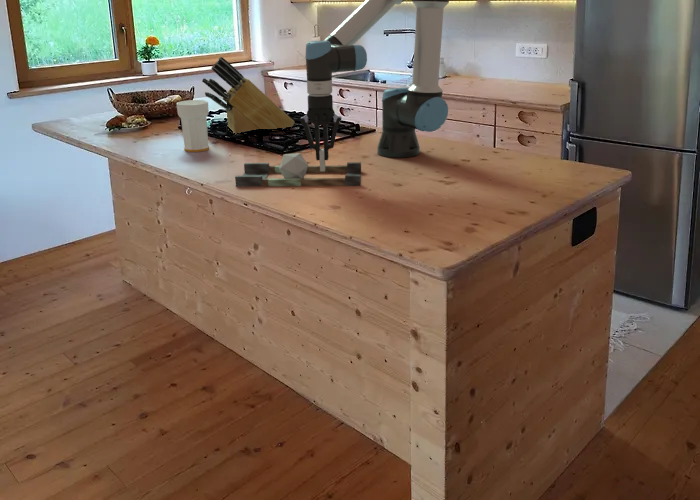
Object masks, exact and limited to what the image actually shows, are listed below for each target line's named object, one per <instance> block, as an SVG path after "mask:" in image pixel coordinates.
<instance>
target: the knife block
mask: <svg viewBox="0 0 700 500" xmlns="http://www.w3.org/2000/svg"><path fill="white" fill-rule="evenodd" d="M210 69H211V70H212V71H213V72H214V73H215V74H216V75H217V76H218V77H219V78H221V79H222V80H223V81H224V82H225V83H226V84H227V85H229V86H230V87H231V88H229V90H226V89H225V88H224V87H223V86H222V85H221V84H219V83H218V82H217V81H216V80H215V79H212V78H209V79H206V78H204V77H203V79H202V80H201V81H202V83H204V84H205V85H206V86H207V87H208V88H209V89H211V90H212V91H213V92H214V93H216V94H217V95H218V96H220V97H222V99H221V98H220V97H218V96H217V95H215V94H212V93H210V92H204V95H205V97H207V98H209V99H211V100H212V101H213V102H215V103H216V104H217V105H219V106H220V107H222V108H224V109H226V118H227V127H229V128H230V129H231V130H232V131H233V134H234V133H235V134H234V135H236V134H237V133H241V132H245V131H250V130H256V129H277V128H286V127H291V128H292V127H293V126H294V125H295V120H293V119H292V117H290V116H289V115H288V114H287V113H286V112H285V111H284V110H282V109H281V108H280V107H279V106H278V105H277V104H276V103H275V102H274V101H273V100H272V99H271V98H270V97H268V96H267V95H266V94H265V93H264V91H262V90H261V89H260V88H258V87H257V86H256V85H255V84H254V83H253V82H252V81H251V80H250V79H248V78H245V76H244V75H242V73H241V72H239V70H238V69H236V68H235V67H234V66H233V65H232V64H231V63H230V62H229V61H227V60H226V59H225V58H224V57H222V56H220V57H219V58H218V60H217V61H216V62H215V64H214V65H212V66H211V68H210Z"/></svg>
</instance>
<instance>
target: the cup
mask: <svg viewBox="0 0 700 500" xmlns="http://www.w3.org/2000/svg"><path fill="white" fill-rule="evenodd" d="M176 110H177V111H176V112H177V116H178V117H179V118H180V121H181V129H182V136H183V143H184V144H183V145H184V146H183V147H184V148H183V149H184V151H185V152H188V153H201V152H206V151H208V150H210V145H209V139H208V136H209V135H208V122H207V121H208V120H207V117H208V115H209V113H210V111H209V102H208V100H204V99H203V100H202V99H190V100H189V99H188V100H181V101H178V102H176Z"/></svg>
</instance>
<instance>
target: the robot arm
mask: <svg viewBox="0 0 700 500" xmlns="http://www.w3.org/2000/svg"><path fill="white" fill-rule="evenodd" d="M404 1H405V0H364V1H363V2H362V3H361V4H360V5H359V6H358V7H357V8H356V9H354V11H353V12H352V13H351V14H350V15H349V16H348V17H346V19H345V20H344V21H343V22H341V23H340V24H339V25H338V26H337V27H336V28H335V29H334V30H333V31H332V32H331V33H330V34H329V35H328V36H326V38H325V39H323V40H311V41H308V42H306V44H305V57H304V59H305V65H306V66H305V67H306V87H307V88H306V89H307V90H306V91H307V92H306V93H307V94H308V96H307V111H306V114H305V115H304V116H301V117H300V119H299V121H300V123H301V124H302V125H303V128H304V132H305V136H306V139H307V144H308V145H309V148H310V149H311V150H312V149H313V150H315V159H316V161H319V166H320V171H325V166H326V161H328V160H329V150H330V149H333V148H334V147H335V141H336V138H337V137H336V136H337V133H338V128H339V126H340V123H341V122H342V116H340V115H337V114H336V113H335V110H334V107H333V106H334V103H333V101H334V100H333V95H332V93H333V74H334V73H341V72H342V73H343V72H355V71H360V70H363V69H365V67H366V65H367V64H368V63H367V62H368V53H367V51H366V49H365V47H364V46H363V45H361V44H356V43H357V42H358V41H359V40H360V39H361V38H362V37H363V36H364V35H365V34H366V33H367V32H368V31H369V30H371V29H372V27H373V26H375V24H377V23H378V22H379V21H380V20H381V19H382V18H383V17H384V16H385V15H386V14H387V13H388V12H389V11H390V10H391V9H393V7H394V6H395V5H398V6H399V5H401V4H402V3H403V2H404ZM411 1H412V3H413V5H414V6H415V8H416V15H415V16H416V17H415V32H414V33H415V35H414V48H413V49H414V51H413V64H412V65H413V67H412V68H413V69H412V84H411V85H410V86H406V87H405V86H403V87H394V88H387V89H384V91H382V97H381V98H382V99H381V102H382V104H381V105H382V114H381V115H382V122H381V123H382V124H381V125H382V126H381V127H382V132H381V134H380V138H379V141H378V145H377V154H378V155H380V156H382V157H386V158H397V159H398V158H401V159H403V158H410V157H411V158H412V157H415V156H418V155H419V154H421V153H420V152H421V151H420V150H421V149H420V143H419V140H418V137H417V134H416V130H418V131H421V132H426V133H427V132H428V133H431V132H436V131H437V130H439V129H440V128H441V127H442V126H443V125H444V124H445V123H446V121H447V118H448V115H449V106H448V103H447V102H446V100H445V99H444V98H443V89H442V88H441V86H440V85H439V81H440V80H439V79H440V65H441V54H442V53H441V52H442V50H441V49H442V38H443V37H442V36H443V24H444V23H443V22H444V9H445V7H447V5H449V3H450V0H411ZM332 119H333V122H334V125H333V127H332V128H333V129H332V135H331V139H330V143H329V135H328V134H329V130H328V128H329V127H328V126H329V124H330V122H331V121H332ZM309 120H310V122H311V123H312V124H313V125H314V139H313V136H312V132H311V128H310V125H309ZM320 126H322V133H323V135H322V136H323V148H321V140H320V138H321V137H320V135H321V134H320Z"/></svg>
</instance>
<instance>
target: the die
mask: <svg viewBox="0 0 700 500" xmlns="http://www.w3.org/2000/svg"><path fill="white" fill-rule="evenodd" d="M279 166H280V167H279V170H280V172H281V173H280V174H281V176H282V177H283V178H305V176H306V174H307V173H306V170H307V168H308V166H309V164H308V163H307V161H306V160H305V158H304V156H303V155H302V153H301V152H297V153H285V154H284V153H283V155H282V159H281V162H280V164H279Z"/></svg>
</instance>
